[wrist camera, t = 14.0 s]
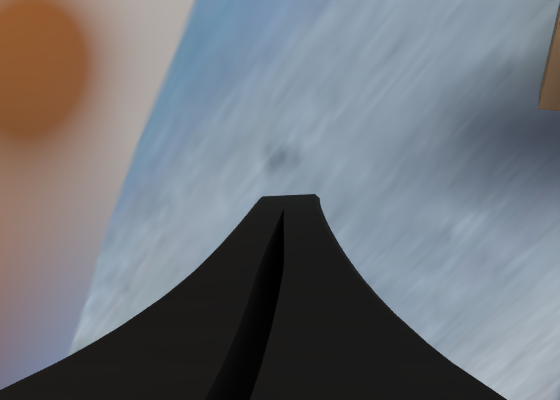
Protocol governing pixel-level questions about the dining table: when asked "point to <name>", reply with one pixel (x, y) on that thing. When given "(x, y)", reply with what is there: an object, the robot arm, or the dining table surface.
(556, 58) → the domino
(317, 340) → the robot arm
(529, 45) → the dining table surface
